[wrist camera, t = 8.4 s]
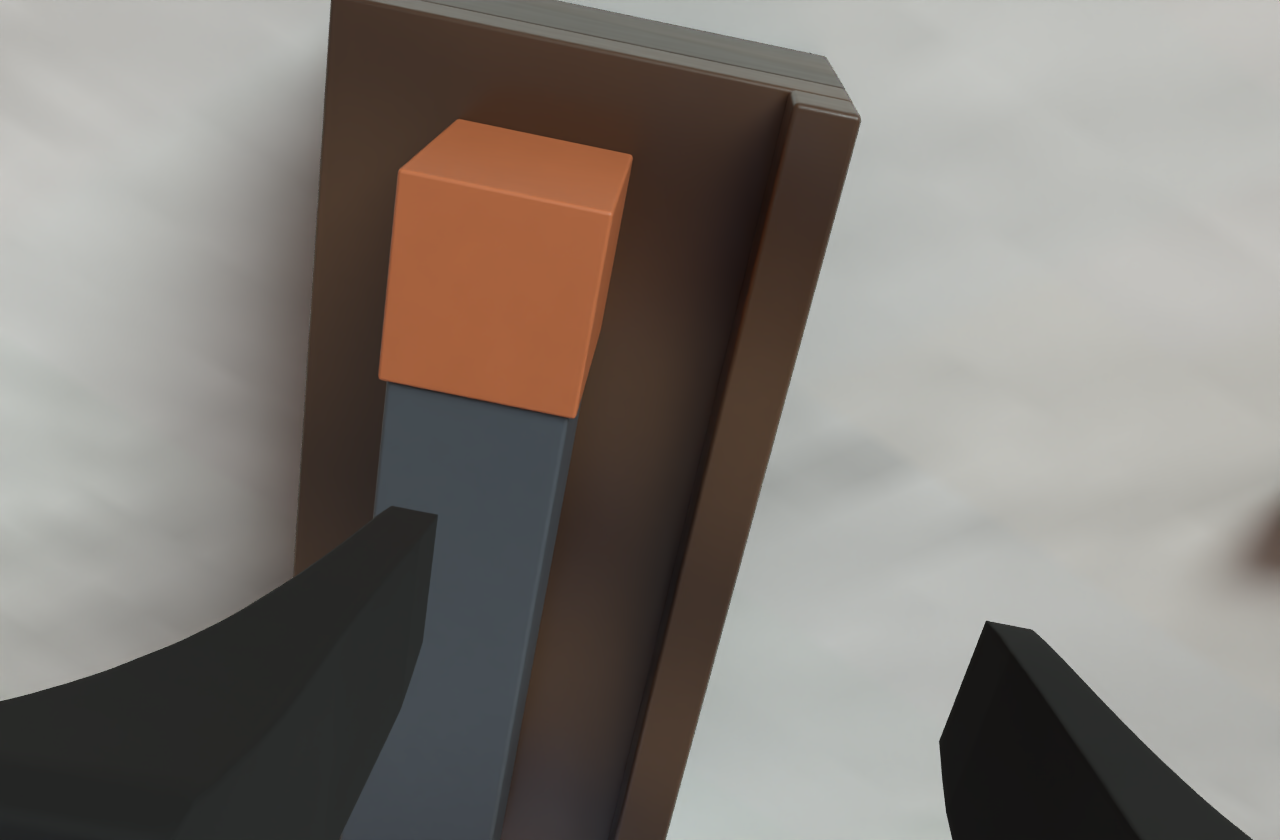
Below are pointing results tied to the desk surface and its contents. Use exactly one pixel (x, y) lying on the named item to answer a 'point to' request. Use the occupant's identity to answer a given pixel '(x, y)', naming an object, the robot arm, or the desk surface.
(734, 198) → the shelf
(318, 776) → the robot arm
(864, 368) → the desk surface
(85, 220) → the desk surface
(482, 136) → the marker
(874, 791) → the desk surface
